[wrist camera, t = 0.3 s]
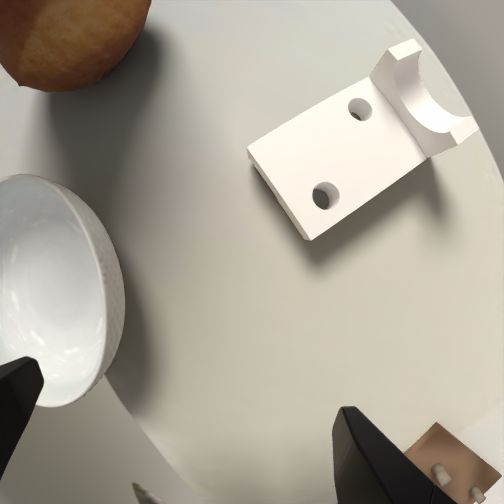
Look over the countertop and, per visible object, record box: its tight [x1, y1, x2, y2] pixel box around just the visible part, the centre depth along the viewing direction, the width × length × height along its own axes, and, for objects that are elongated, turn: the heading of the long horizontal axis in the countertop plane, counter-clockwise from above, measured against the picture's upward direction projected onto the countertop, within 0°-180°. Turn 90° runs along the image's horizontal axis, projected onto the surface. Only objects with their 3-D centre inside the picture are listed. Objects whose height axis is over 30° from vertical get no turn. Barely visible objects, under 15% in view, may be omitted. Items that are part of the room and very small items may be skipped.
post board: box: [404, 422, 502, 504], centre depth 21 cm, size 14×22×4 cm, turn 49°
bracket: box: [247, 39, 479, 240], centre depth 18 cm, size 13×7×8 cm, turn 124°
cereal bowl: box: [0, 174, 125, 407], centre depth 20 cm, size 17×17×7 cm
